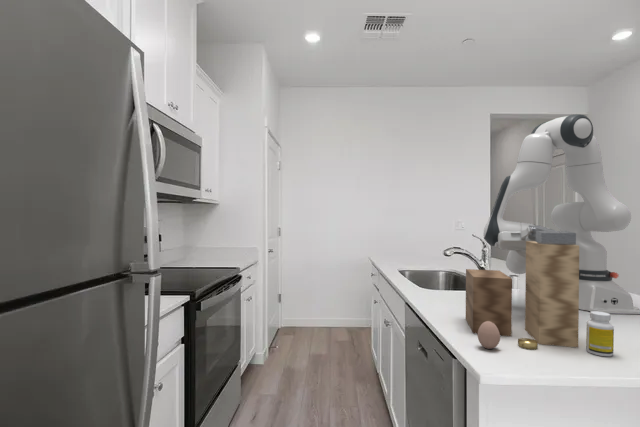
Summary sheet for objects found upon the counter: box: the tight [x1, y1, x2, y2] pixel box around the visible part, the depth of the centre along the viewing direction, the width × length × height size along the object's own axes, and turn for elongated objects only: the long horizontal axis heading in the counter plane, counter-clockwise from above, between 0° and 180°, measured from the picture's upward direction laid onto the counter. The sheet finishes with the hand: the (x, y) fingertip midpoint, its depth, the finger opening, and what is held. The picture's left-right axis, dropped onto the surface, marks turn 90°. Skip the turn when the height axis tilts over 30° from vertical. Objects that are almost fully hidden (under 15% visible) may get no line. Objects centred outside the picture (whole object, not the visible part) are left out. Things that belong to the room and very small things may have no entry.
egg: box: [477, 321, 501, 350], centre depth 96 cm, size 5×5×7 cm
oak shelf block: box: [524, 241, 580, 348], centre depth 104 cm, size 9×13×26 cm
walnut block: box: [465, 268, 513, 337], centre depth 114 cm, size 10×16×16 cm, turn 166°
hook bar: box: [529, 224, 576, 245], centre depth 109 cm, size 21×8×3 cm, turn 166°
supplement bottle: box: [585, 311, 615, 357], centre depth 93 cm, size 5×5×10 cm
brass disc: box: [517, 337, 539, 351], centre depth 97 cm, size 4×4×2 cm
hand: (538, 229), depth 115 cm, fingers closed on hook bar, 3 cm apart
